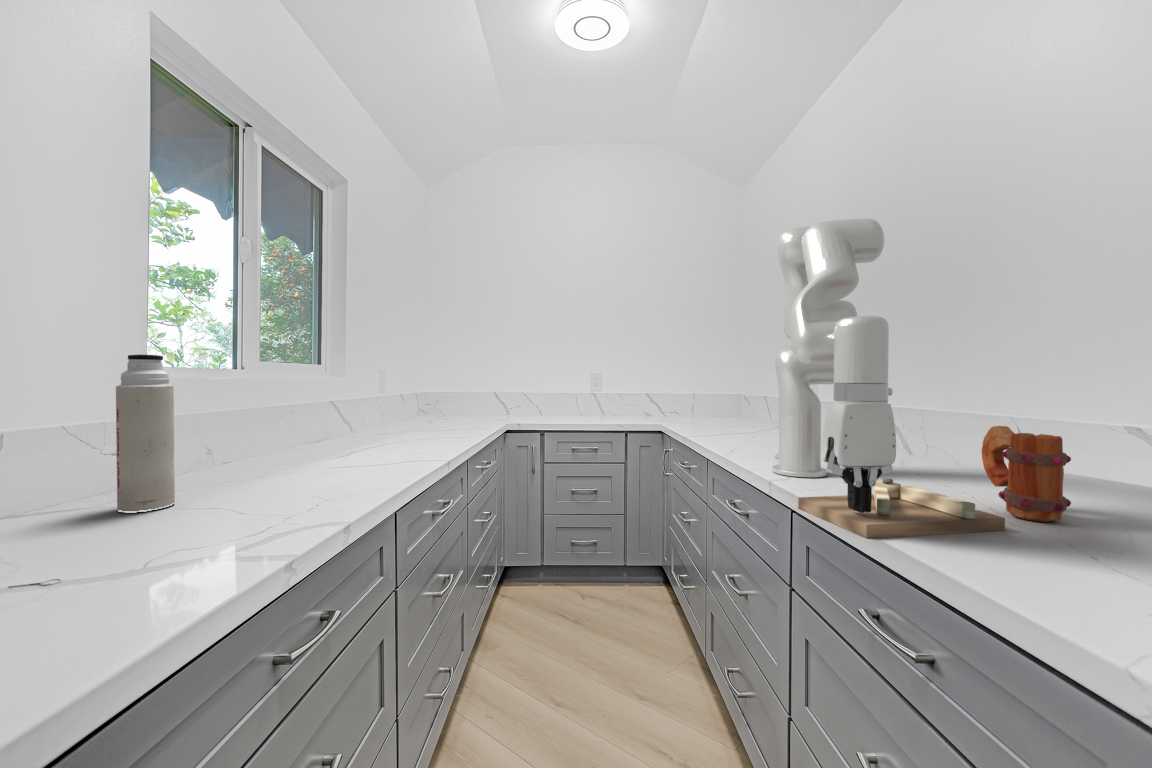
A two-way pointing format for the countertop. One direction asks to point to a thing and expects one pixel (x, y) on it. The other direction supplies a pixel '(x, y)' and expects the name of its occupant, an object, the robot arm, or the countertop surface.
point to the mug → (1027, 472)
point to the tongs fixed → (937, 501)
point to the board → (897, 518)
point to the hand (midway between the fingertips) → (859, 509)
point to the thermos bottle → (145, 435)
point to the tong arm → (885, 496)
